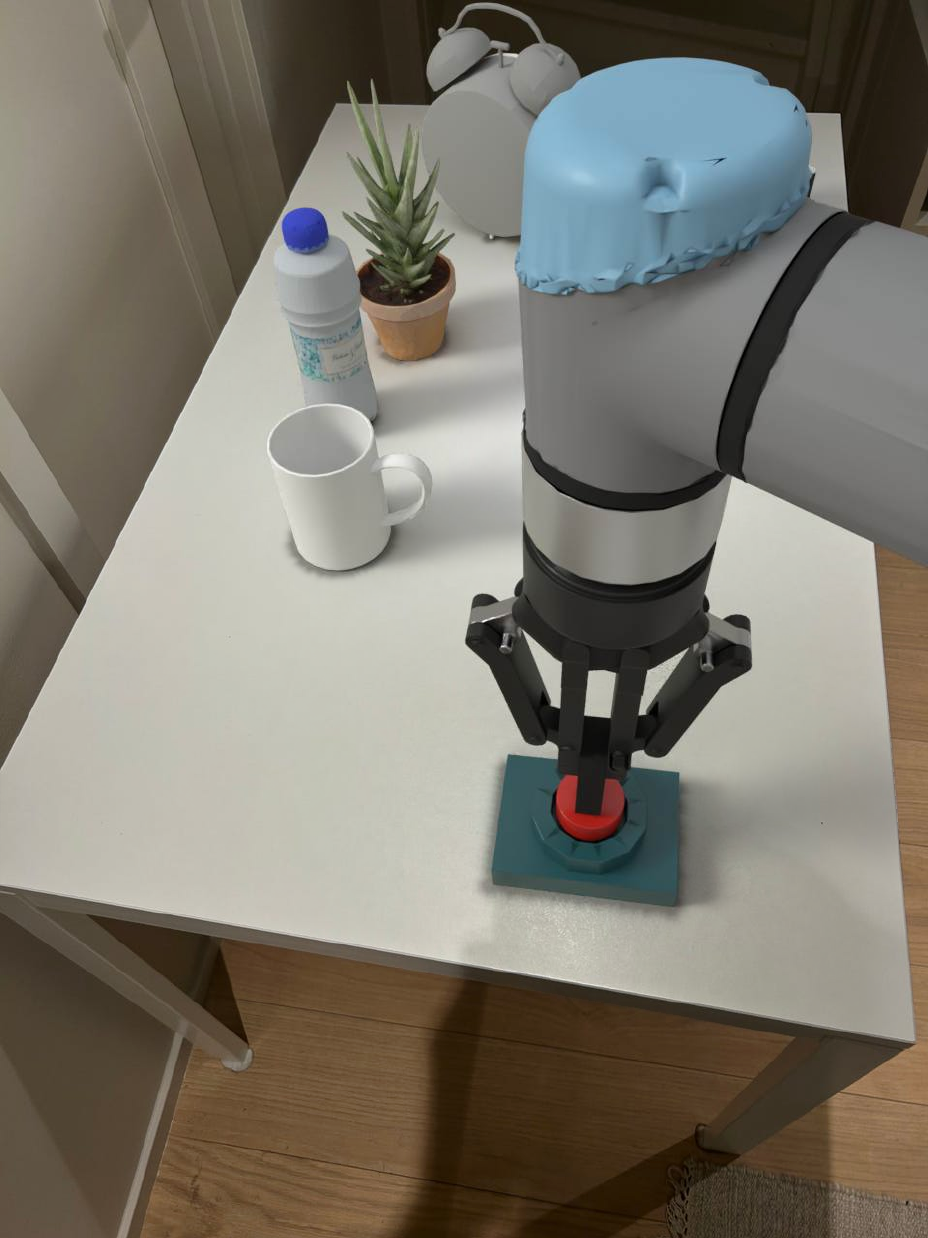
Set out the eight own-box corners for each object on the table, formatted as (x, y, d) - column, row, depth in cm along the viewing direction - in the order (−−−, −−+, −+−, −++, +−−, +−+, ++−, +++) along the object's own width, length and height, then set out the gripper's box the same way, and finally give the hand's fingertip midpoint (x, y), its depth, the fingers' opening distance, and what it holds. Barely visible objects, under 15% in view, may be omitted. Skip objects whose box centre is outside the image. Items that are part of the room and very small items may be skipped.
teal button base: (675, 787, 61) (683, 758, 58) (673, 907, 56) (681, 882, 53) (508, 769, 62) (507, 740, 59) (492, 884, 58) (490, 859, 54)
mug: (280, 562, 75) (248, 467, 66) (316, 494, 79) (291, 396, 71) (424, 590, 72) (409, 494, 64) (453, 517, 77) (443, 419, 68)
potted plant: (353, 325, 93) (305, 60, 74) (443, 303, 95) (420, 37, 75) (379, 385, 87) (334, 114, 68) (474, 361, 89) (458, 88, 69)
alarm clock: (589, 228, 101) (600, 0, 84) (548, 268, 97) (552, 37, 80) (464, 192, 107) (450, -28, 90) (421, 228, 103) (398, 5, 86)
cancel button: (624, 784, 57) (626, 770, 56) (620, 845, 55) (622, 832, 53) (559, 777, 58) (559, 763, 56) (552, 837, 55) (553, 824, 54)
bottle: (339, 456, 82) (292, 247, 66) (294, 421, 85) (239, 214, 69) (397, 419, 84) (365, 209, 68) (352, 387, 87) (311, 179, 72)
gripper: (789, 461, 37) (702, 749, 56) (467, 441, 39) (488, 726, 58) (800, 609, 33) (702, 867, 52) (437, 579, 35) (470, 839, 53)
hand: (589, 793), depth 55 cm, fingers closed
